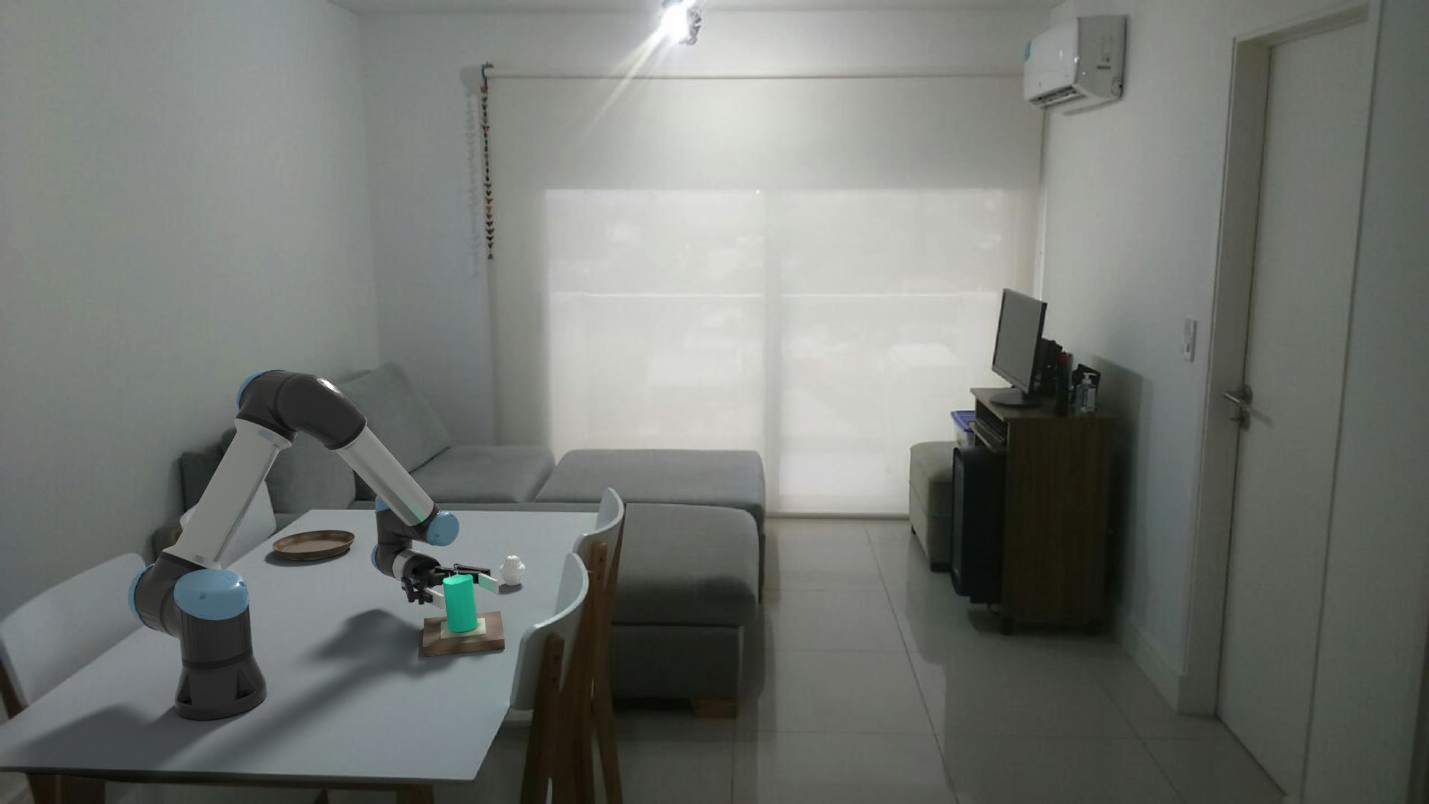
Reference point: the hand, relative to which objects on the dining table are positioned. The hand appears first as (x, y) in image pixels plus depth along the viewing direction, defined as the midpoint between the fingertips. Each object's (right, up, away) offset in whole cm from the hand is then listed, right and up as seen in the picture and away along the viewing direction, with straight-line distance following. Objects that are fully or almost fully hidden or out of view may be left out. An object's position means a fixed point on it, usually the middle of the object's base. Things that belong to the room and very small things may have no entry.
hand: (470, 594), depth 216 cm
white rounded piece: (+2, -4, +37) cm, 37 cm away
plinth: (-2, -10, +4) cm, 11 cm away
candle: (-3, -8, +4) cm, 9 cm away
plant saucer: (-56, 0, +64) cm, 84 cm away
